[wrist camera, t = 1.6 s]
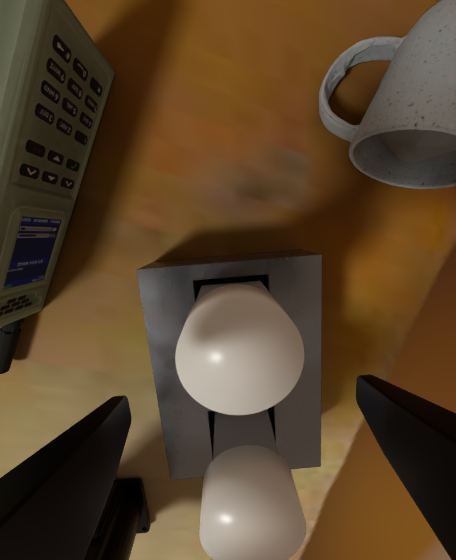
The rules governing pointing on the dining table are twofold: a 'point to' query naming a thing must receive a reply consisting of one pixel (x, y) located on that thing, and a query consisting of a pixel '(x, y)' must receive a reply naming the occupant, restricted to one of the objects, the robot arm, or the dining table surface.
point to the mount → (169, 324)
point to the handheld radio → (41, 146)
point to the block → (405, 104)
